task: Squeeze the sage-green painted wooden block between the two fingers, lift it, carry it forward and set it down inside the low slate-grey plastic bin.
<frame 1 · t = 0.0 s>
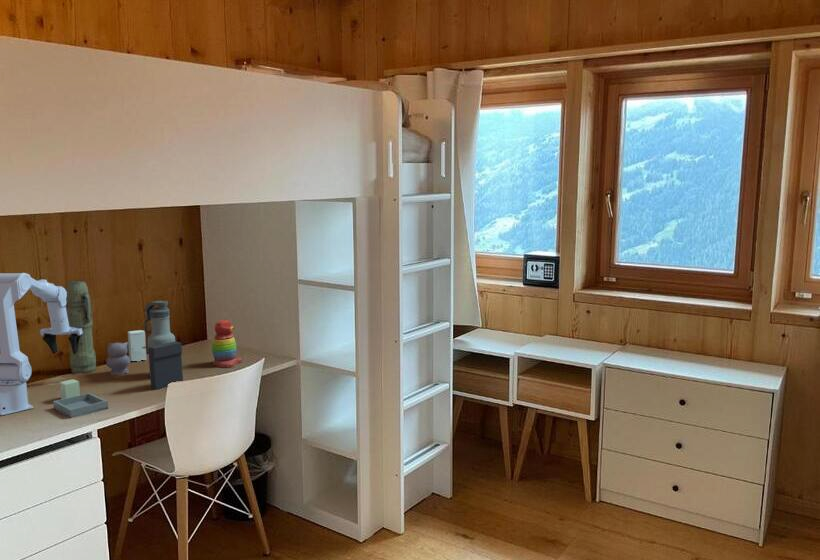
hand: (65, 352, 253), 11 cm above the table, tool pointing down, fingers open, 7 cm apart
block: (70, 399, 233), on the table
thermos: (83, 370, 268), on the table
bin: (81, 408, 223), on the table
water bottle: (163, 375, 260), on the table
skincare box: (138, 360, 282), on the table
stacking bear: (226, 364, 274), on the table
dark gray box: (167, 385, 247), on the table
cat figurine: (119, 373, 263), on the table
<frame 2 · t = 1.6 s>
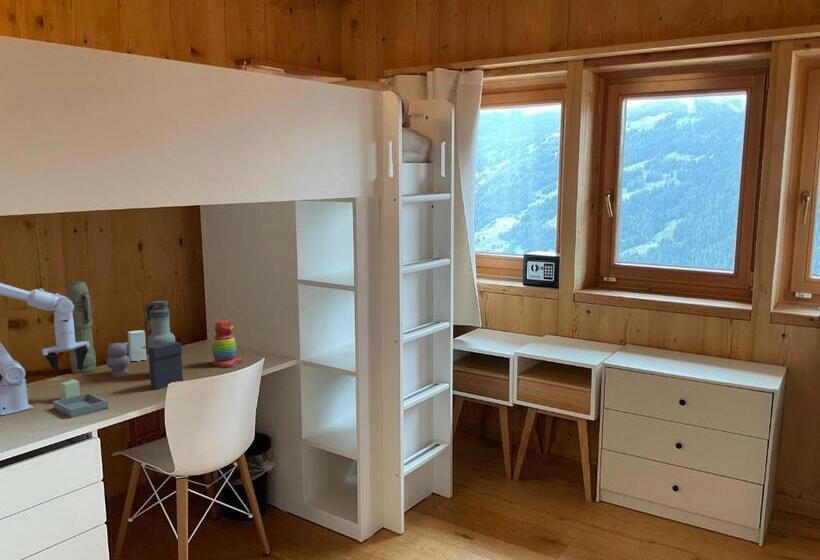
hand: (68, 371, 231), 9 cm above the table, tool pointing down, fingers open, 7 cm apart
nothing on the table moved.
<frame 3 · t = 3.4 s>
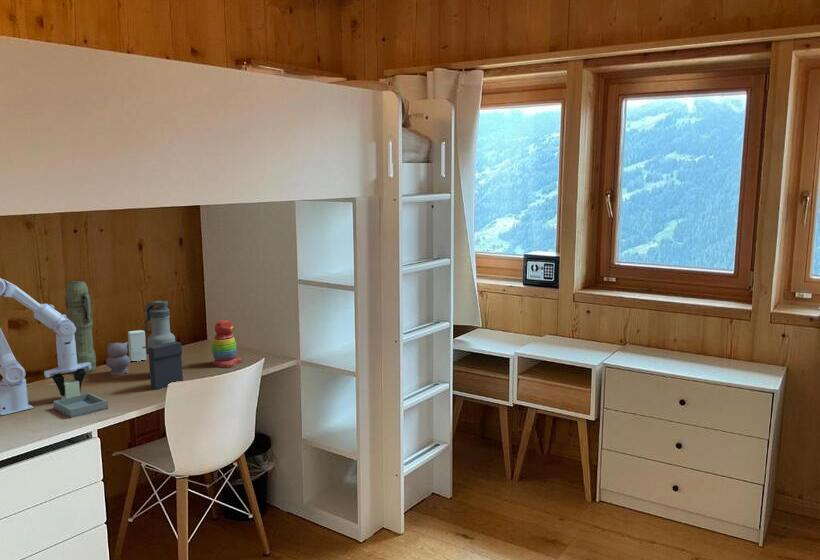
hand: (70, 393, 232), 2 cm above the table, tool pointing down, fingers closed on block, 4 cm apart
block: (70, 398, 233), on the table, touching gripper
everything else where it was.
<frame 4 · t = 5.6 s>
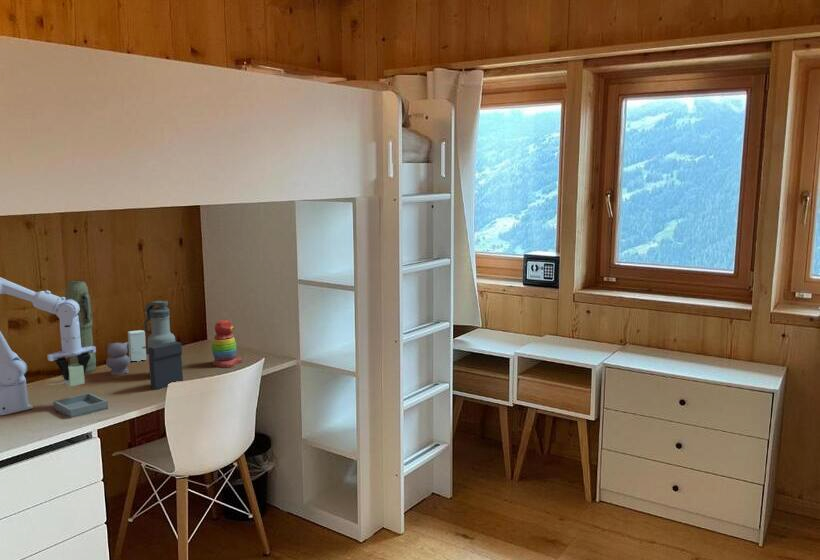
hand: (74, 377, 226), 9 cm above the table, tool pointing down, fingers closed on block, 4 cm apart
block: (74, 383, 226), point 7 cm above the table, touching gripper
everything else where it was.
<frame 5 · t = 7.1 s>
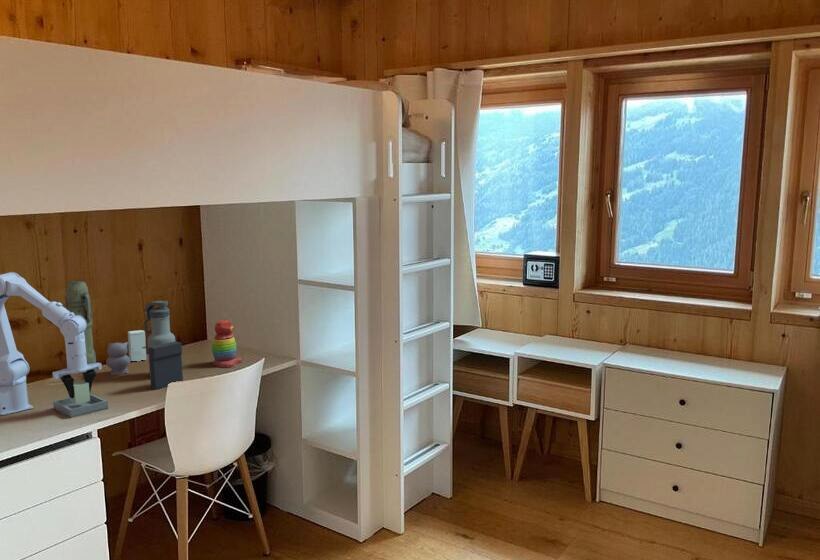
hand: (79, 395, 222), 4 cm above the table, tool pointing down, fingers closed on block, 4 cm apart
block: (80, 401, 222), point 2 cm above the table, touching gripper
everything else where it was.
when the fingers open (4 cm above the table, at t = 8.1 s): block drops 1 cm, resting on bin.
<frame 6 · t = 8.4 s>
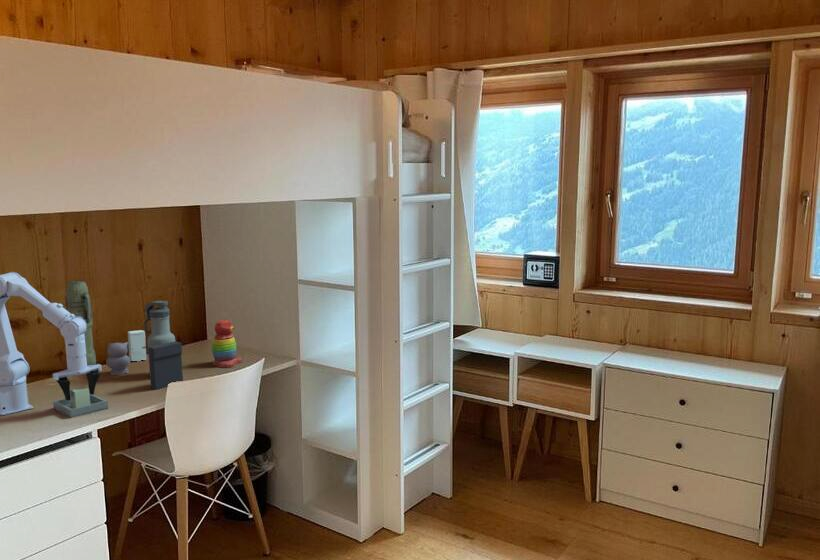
hand: (79, 396, 222), 4 cm above the table, tool pointing down, fingers open, 7 cm apart
block: (80, 406, 223), resting on bin
everything else where it was.
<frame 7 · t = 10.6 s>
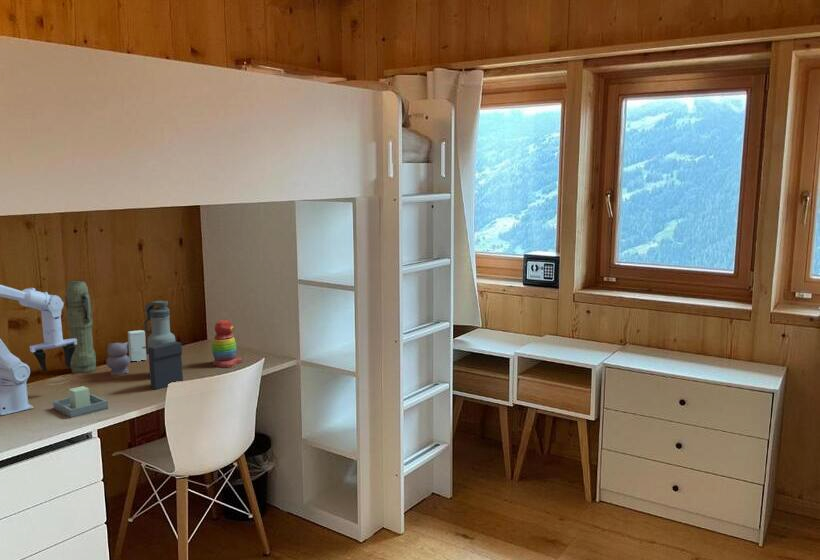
hand: (56, 368, 235), 9 cm above the table, tool pointing down, fingers open, 7 cm apart
nothing on the table moved.
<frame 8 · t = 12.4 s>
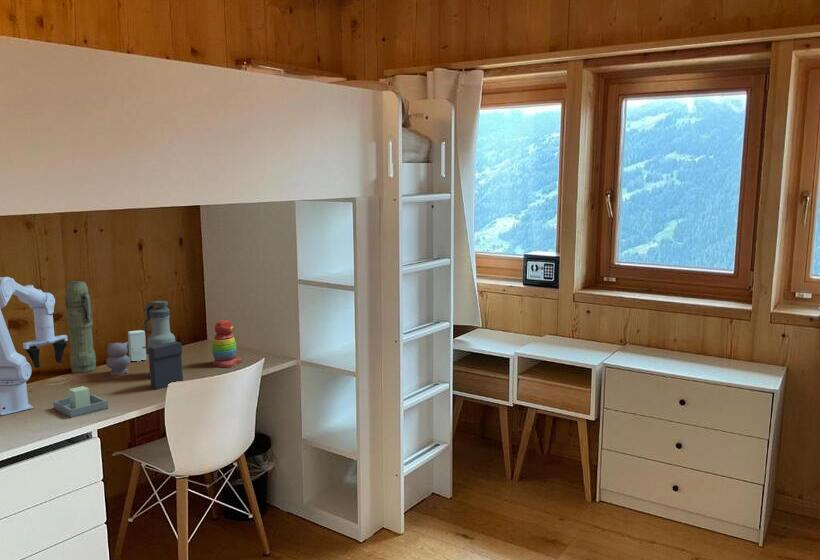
hand: (47, 364, 241), 9 cm above the table, tool pointing down, fingers open, 7 cm apart
nothing on the table moved.
at the end: block inside the target area on the bin (0.2 cm from its centre), point 0.5 cm above the bin's base; block touching bin; the gripper is holding nothing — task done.
